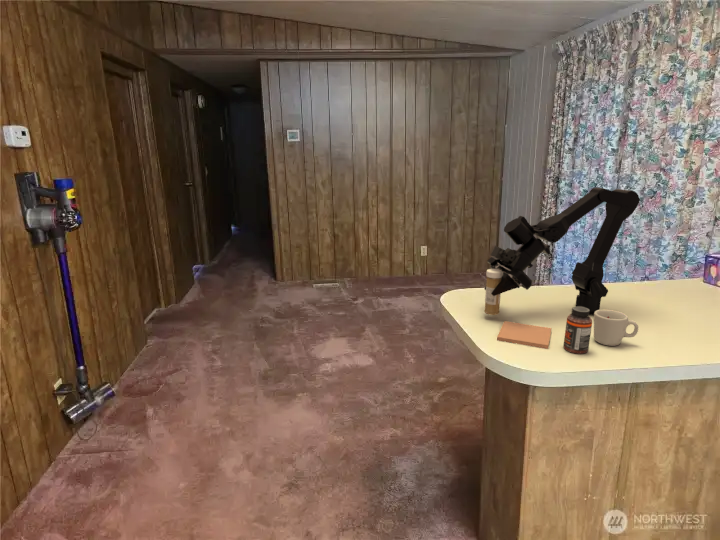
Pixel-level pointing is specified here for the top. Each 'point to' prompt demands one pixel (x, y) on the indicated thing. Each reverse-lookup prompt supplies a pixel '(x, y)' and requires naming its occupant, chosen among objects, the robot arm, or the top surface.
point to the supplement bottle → (578, 330)
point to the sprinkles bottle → (490, 300)
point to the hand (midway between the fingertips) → (488, 292)
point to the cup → (612, 327)
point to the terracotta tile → (525, 334)
